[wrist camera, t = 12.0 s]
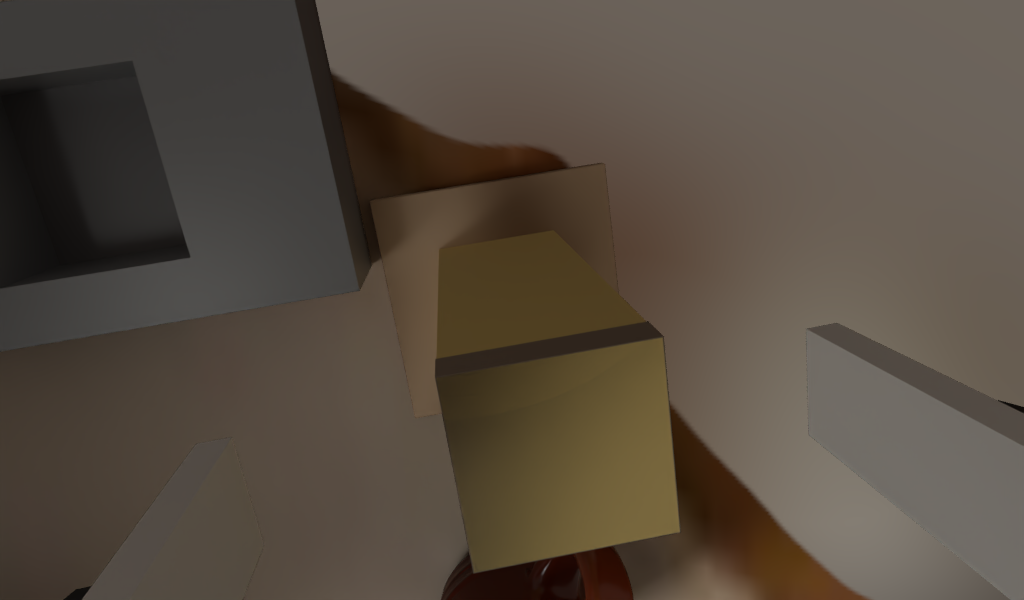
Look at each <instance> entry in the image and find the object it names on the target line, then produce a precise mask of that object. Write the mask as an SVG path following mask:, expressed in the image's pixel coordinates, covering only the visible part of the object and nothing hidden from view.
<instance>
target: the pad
mask: <svg viewBox="0 0 1024 600" xmlns="http://www.w3.org/2000/svg"><path fill="white" fill-rule="evenodd" d="M370 205H371V210H372V215H373V220H374V224H375V229H376V234H377V239H378V243H379V248H380V253H381V258H382V262H383V267H384V272H385V277H386V281H387V286H388V291H389V296H390V300H391V305H392V310H393V315H394V320H395V324H396V329H397V334H398V339H399V343H400V348H401V353H402V358H403V362H404V367H405V372H406V377H407V381H408V386H409V391H410V396H411V400H412V405H413V410H414V415H415V418H420V417H425V416H431V415H436V414H442V411H441V406H440V401H439V396H438V391H437V386H436V381H435V359H436V358H437V314H438V271H439V249H444V248H450V247H456V246H462V245H468V244H474V243H480V242H486V241H492V240H498V239H504V238H510V237H516V236H522V235H528V234H534V233H540V232H546V231H552V230H554V231H555V232H556V233H557V234H558V235H559V236H560V237H561V238H562V239H563V240H564V241H565V242H566V243H567V244H568V245H569V246H570V247H571V248H572V249H573V250H574V251H575V252H576V253H577V254H578V255H579V256H580V257H581V258H582V259H583V260H584V261H585V262H586V263H587V264H588V265H589V266H590V267H591V268H592V269H593V270H595V271H596V272H597V273H598V274H599V275H600V276H601V277H602V278H603V279H604V280H605V281H606V282H607V283H608V284H609V285H610V286H611V287H612V288H613V289H614V290H615V291H616V292H617V293H618V294H619V292H618V283H617V274H616V264H615V255H614V245H613V236H612V226H611V217H610V208H609V198H608V190H607V179H606V170H605V164H604V163H597V164H591V165H585V166H579V167H572V168H566V169H560V170H554V171H547V172H541V173H535V174H529V175H523V176H516V177H510V178H504V179H498V180H492V181H485V182H479V183H473V184H467V185H461V186H454V187H448V188H442V189H436V190H430V191H423V192H417V193H411V194H405V195H399V196H392V197H386V198H380V199H374V200H371V201H370Z"/></svg>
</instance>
